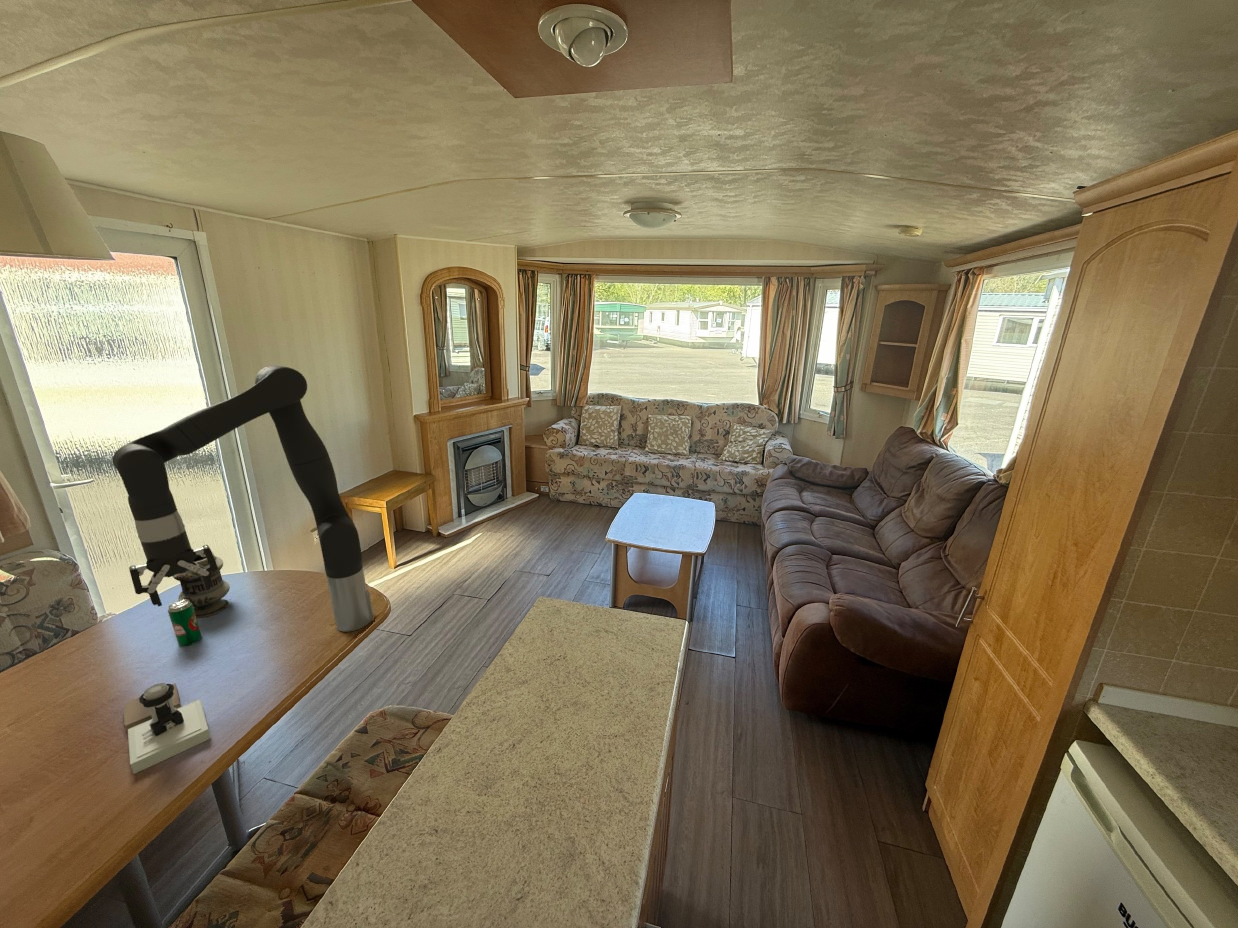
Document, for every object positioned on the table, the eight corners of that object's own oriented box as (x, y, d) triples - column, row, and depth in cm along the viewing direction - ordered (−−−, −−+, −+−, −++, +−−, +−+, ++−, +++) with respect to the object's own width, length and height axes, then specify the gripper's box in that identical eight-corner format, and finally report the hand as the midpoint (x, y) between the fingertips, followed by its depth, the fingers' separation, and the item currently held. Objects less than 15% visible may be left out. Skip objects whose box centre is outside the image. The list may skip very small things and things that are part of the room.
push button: (149, 746, 100) (135, 706, 97) (138, 735, 102) (124, 696, 99) (189, 723, 106) (177, 685, 103) (177, 713, 108) (165, 676, 105)
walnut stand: (177, 689, 119) (175, 683, 118) (181, 710, 112) (179, 703, 112) (126, 710, 112) (123, 703, 112) (127, 732, 106) (124, 725, 106)
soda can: (174, 644, 135) (162, 606, 131) (195, 633, 139) (184, 596, 136) (185, 648, 133) (173, 610, 129) (206, 638, 137) (195, 600, 134)
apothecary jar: (212, 620, 145) (197, 566, 140) (172, 620, 145) (155, 566, 140) (243, 598, 156) (230, 547, 151) (206, 597, 157) (191, 546, 151)
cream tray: (202, 707, 113) (199, 698, 112) (210, 738, 105) (207, 728, 104) (131, 738, 105) (127, 728, 104) (133, 773, 97) (130, 763, 96)
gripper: (200, 518, 115) (219, 578, 120) (116, 539, 105) (140, 603, 110) (206, 527, 110) (225, 589, 115) (119, 550, 100) (144, 617, 106)
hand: (184, 596), depth 113 cm, fingers open, 8 cm apart
